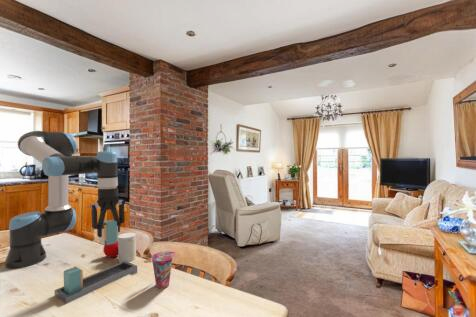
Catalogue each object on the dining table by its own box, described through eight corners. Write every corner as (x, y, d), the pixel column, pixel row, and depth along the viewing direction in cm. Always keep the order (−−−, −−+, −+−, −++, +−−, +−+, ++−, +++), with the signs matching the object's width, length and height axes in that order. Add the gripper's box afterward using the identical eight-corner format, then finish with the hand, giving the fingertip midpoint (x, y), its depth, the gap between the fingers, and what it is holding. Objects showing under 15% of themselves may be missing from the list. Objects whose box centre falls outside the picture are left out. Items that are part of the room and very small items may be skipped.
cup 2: (165, 292, 91) (165, 261, 91) (147, 288, 94) (146, 258, 94) (178, 280, 100) (178, 252, 100) (161, 277, 103) (161, 249, 103)
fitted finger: (83, 291, 90) (83, 268, 90) (69, 298, 86) (68, 273, 86) (78, 288, 93) (77, 265, 92) (64, 294, 88) (63, 270, 88)
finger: (101, 243, 101) (100, 222, 101) (113, 240, 105) (112, 219, 105) (105, 245, 99) (104, 223, 98) (117, 242, 102) (116, 221, 102)
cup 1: (129, 263, 116) (129, 238, 116) (114, 261, 118) (114, 237, 118) (139, 256, 124) (139, 233, 124) (125, 254, 126) (125, 232, 125)
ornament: (122, 258, 121) (122, 239, 121) (102, 261, 118) (102, 241, 117) (123, 251, 129) (123, 233, 129) (104, 254, 126) (104, 235, 126)
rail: (54, 298, 88) (54, 290, 88) (125, 267, 112) (125, 260, 112) (66, 306, 83) (66, 298, 83) (137, 272, 107) (137, 265, 107)
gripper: (124, 184, 111) (126, 234, 111) (80, 189, 97) (82, 246, 97) (132, 185, 106) (133, 238, 106) (87, 191, 92) (89, 251, 93)
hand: (109, 242), depth 102 cm, fingers closed on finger, 5 cm apart
